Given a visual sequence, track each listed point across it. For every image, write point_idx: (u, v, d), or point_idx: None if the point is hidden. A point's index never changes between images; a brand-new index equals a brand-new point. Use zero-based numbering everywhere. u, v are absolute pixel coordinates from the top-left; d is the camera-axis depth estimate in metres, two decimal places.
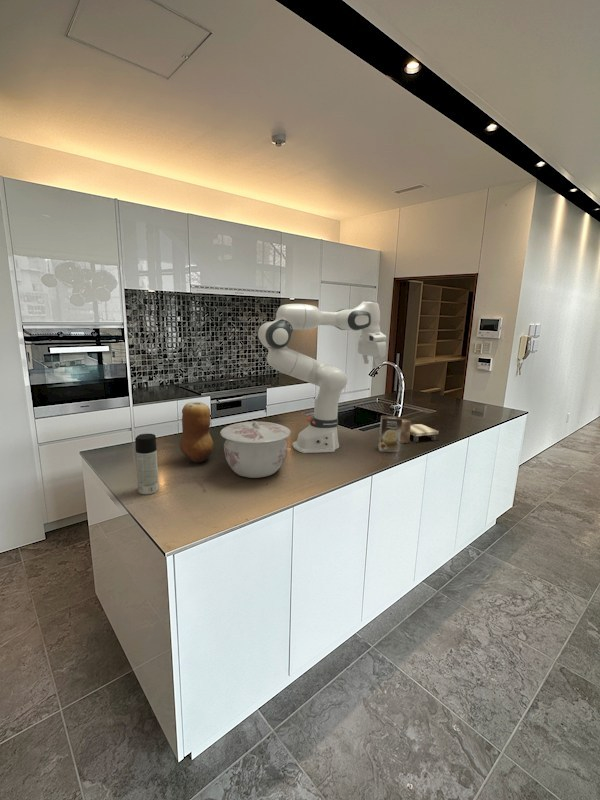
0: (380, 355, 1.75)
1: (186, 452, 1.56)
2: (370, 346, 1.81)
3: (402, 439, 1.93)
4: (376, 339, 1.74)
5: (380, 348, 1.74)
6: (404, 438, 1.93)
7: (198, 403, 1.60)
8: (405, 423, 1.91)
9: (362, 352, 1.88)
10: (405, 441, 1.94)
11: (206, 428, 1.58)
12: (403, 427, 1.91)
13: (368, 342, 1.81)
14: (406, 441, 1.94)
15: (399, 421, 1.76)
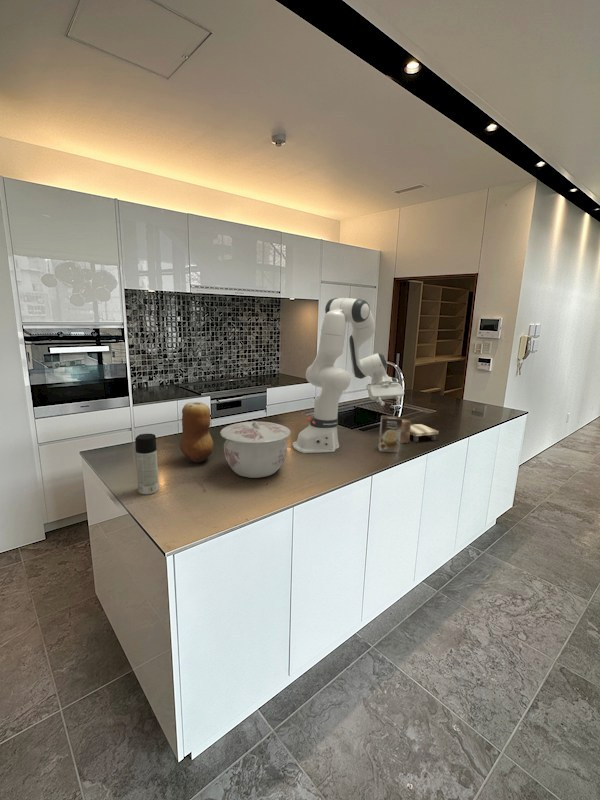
0: None
1: (186, 452, 1.56)
2: (389, 388, 2.08)
3: (402, 439, 1.93)
4: None
5: None
6: (404, 438, 1.93)
7: (198, 403, 1.60)
8: (405, 423, 1.91)
9: (380, 394, 2.03)
10: (405, 441, 1.94)
11: (206, 428, 1.58)
12: (403, 427, 1.91)
13: (388, 384, 2.08)
14: (406, 441, 1.94)
15: (399, 421, 1.76)
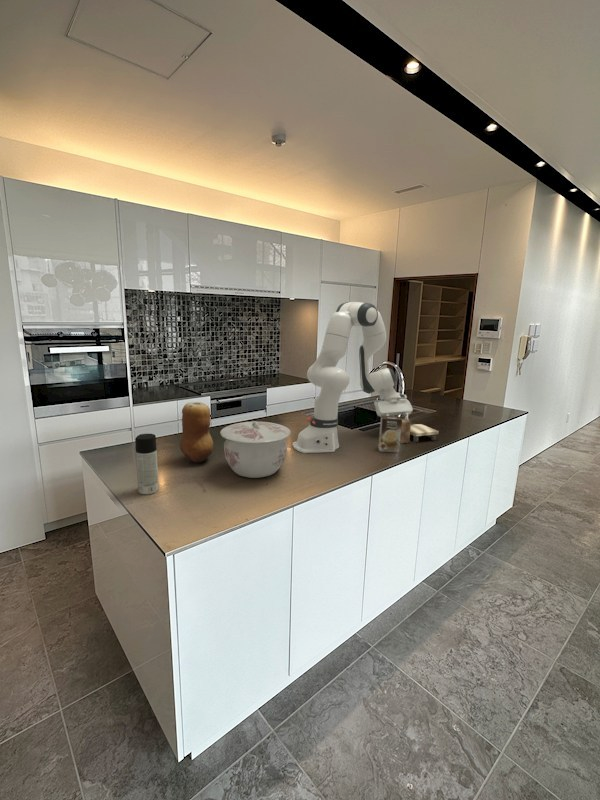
0: None
1: (186, 452, 1.56)
2: (397, 404, 2.01)
3: (402, 439, 1.93)
4: None
5: None
6: (404, 438, 1.93)
7: (198, 403, 1.60)
8: (405, 423, 1.91)
9: (388, 411, 1.97)
10: (405, 441, 1.94)
11: (206, 428, 1.58)
12: (403, 427, 1.91)
13: (396, 400, 2.02)
14: (406, 441, 1.94)
15: (399, 421, 1.76)
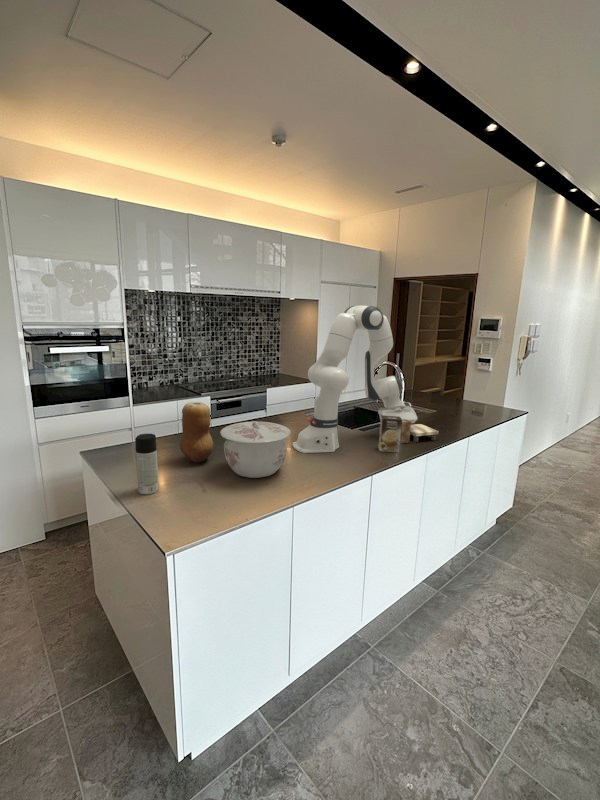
0: None
1: (186, 452, 1.56)
2: (402, 413, 1.98)
3: (402, 439, 1.93)
4: None
5: None
6: (404, 438, 1.93)
7: (198, 403, 1.60)
8: (405, 423, 1.91)
9: None
10: (405, 441, 1.94)
11: (206, 428, 1.58)
12: (403, 427, 1.91)
13: (401, 409, 1.98)
14: (406, 441, 1.94)
15: (399, 421, 1.76)
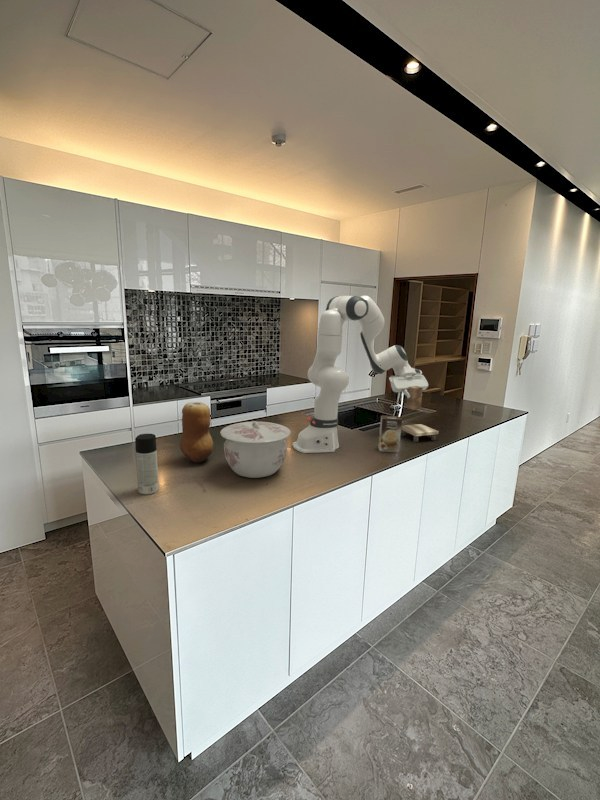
0: None
1: (186, 452, 1.56)
2: (413, 380, 1.98)
3: (414, 405, 1.93)
4: None
5: None
6: (416, 404, 1.93)
7: (198, 403, 1.60)
8: (416, 389, 1.91)
9: (404, 386, 1.94)
10: (417, 407, 1.94)
11: (206, 428, 1.58)
12: (415, 393, 1.91)
13: (412, 376, 1.98)
14: (418, 407, 1.94)
15: (399, 421, 1.76)
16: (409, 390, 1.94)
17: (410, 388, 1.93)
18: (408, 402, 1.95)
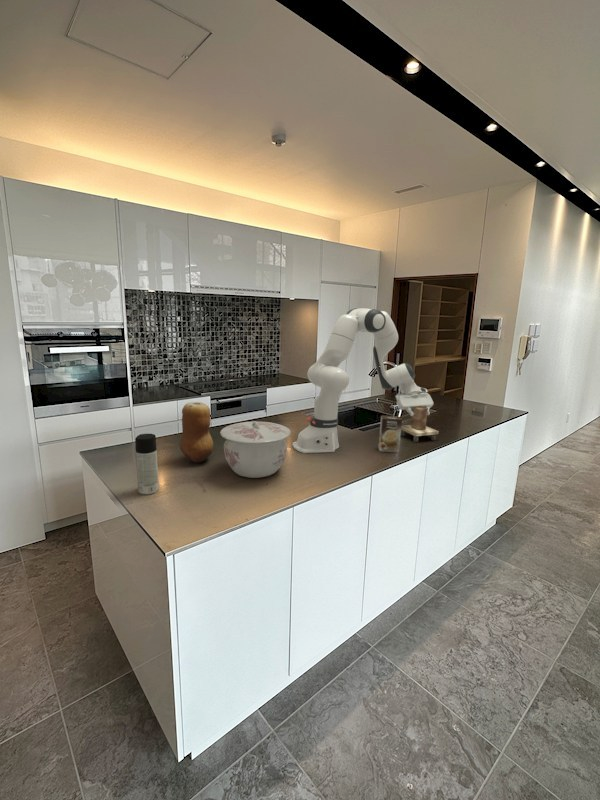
0: None
1: (186, 452, 1.56)
2: (418, 398, 2.04)
3: (419, 426, 1.98)
4: None
5: None
6: (421, 425, 1.99)
7: (198, 403, 1.60)
8: (422, 410, 1.97)
9: (410, 404, 1.99)
10: (422, 428, 1.99)
11: (206, 428, 1.58)
12: (420, 414, 1.97)
13: (418, 394, 2.04)
14: (423, 428, 2.00)
15: (399, 421, 1.76)
16: (414, 411, 2.00)
17: (415, 409, 1.99)
18: (413, 422, 2.01)
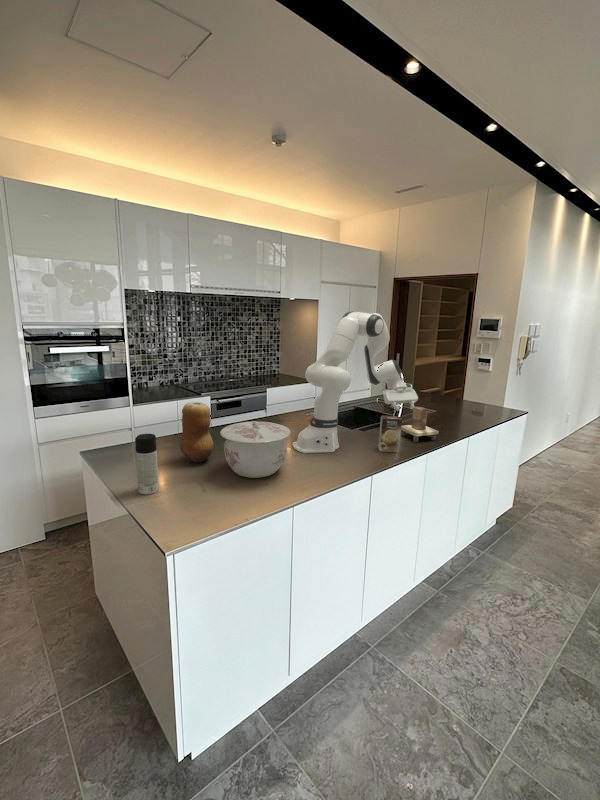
0: None
1: (186, 452, 1.56)
2: (404, 393, 2.15)
3: (419, 426, 1.98)
4: None
5: None
6: (421, 425, 1.99)
7: (198, 403, 1.60)
8: (422, 410, 1.97)
9: (395, 399, 2.11)
10: (422, 428, 1.99)
11: (206, 428, 1.58)
12: (420, 414, 1.97)
13: (403, 389, 2.16)
14: (423, 428, 2.00)
15: (399, 421, 1.76)
16: (414, 411, 2.00)
17: (415, 409, 1.99)
18: (413, 422, 2.01)
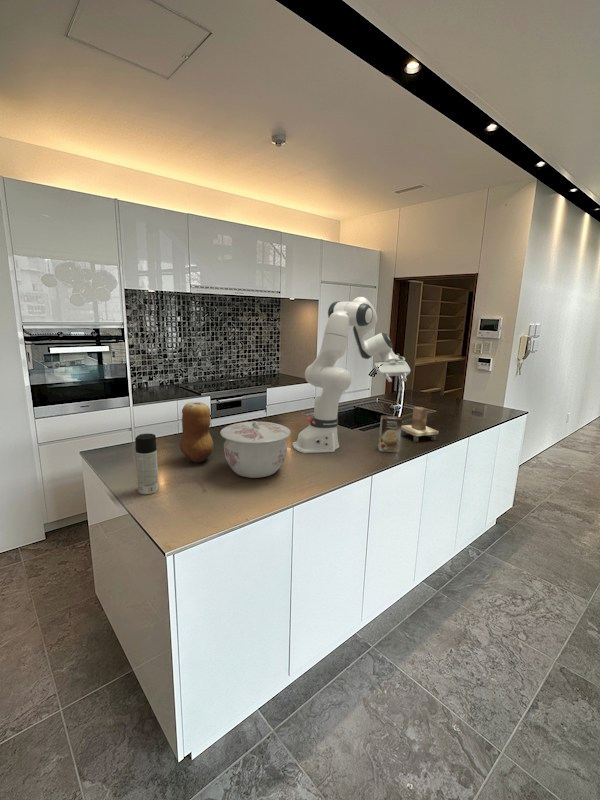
0: None
1: (186, 452, 1.56)
2: (396, 366, 2.16)
3: (419, 426, 1.98)
4: None
5: None
6: (421, 425, 1.99)
7: (198, 403, 1.60)
8: (422, 410, 1.97)
9: (387, 371, 2.11)
10: (422, 428, 1.99)
11: (206, 428, 1.58)
12: (420, 414, 1.97)
13: (395, 362, 2.16)
14: (423, 428, 2.00)
15: (399, 421, 1.76)
16: (414, 411, 2.00)
17: (415, 409, 1.99)
18: (413, 422, 2.01)
